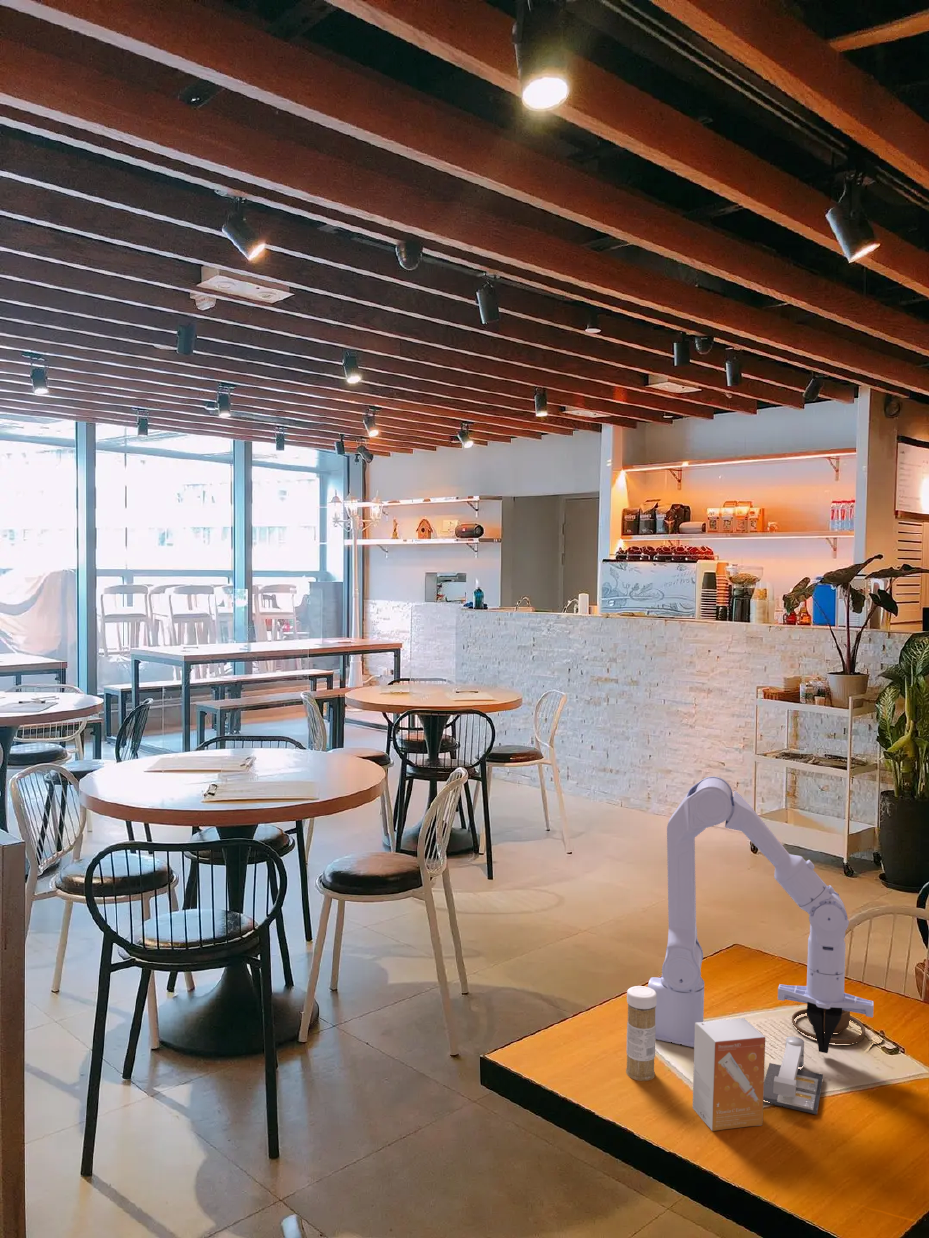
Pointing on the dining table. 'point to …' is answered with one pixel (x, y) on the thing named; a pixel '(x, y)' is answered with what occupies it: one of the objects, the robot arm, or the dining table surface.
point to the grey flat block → (805, 1089)
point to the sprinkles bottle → (641, 1033)
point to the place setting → (840, 1027)
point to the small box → (728, 1073)
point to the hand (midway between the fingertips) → (823, 1049)
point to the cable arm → (789, 1067)
